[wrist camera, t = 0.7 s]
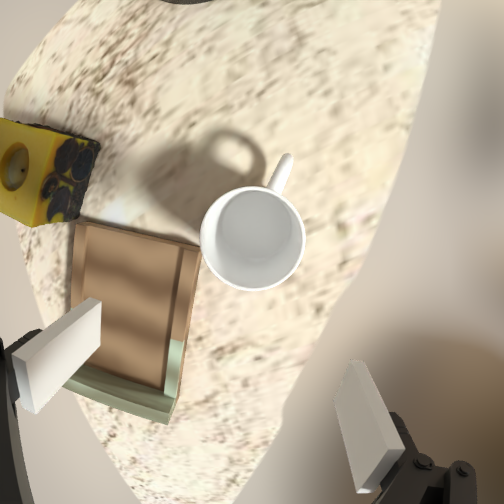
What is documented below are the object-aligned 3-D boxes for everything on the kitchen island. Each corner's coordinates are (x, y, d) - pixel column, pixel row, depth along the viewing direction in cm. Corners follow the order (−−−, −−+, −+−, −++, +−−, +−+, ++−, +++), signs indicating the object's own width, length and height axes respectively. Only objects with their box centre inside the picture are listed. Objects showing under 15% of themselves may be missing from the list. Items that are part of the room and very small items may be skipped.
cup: (206, 244, 36) (183, 265, 26) (250, 143, 34) (244, 125, 24) (274, 274, 36) (278, 307, 26) (320, 175, 34) (342, 170, 24)
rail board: (87, 221, 36) (60, 227, 30) (203, 247, 36) (191, 259, 30) (81, 365, 40) (61, 386, 34) (178, 397, 40) (167, 425, 34)
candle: (26, 197, 36) (-25, 202, 26) (46, 125, 34) (-4, 114, 24) (79, 221, 36) (30, 232, 26) (103, 142, 34) (56, 131, 24)
